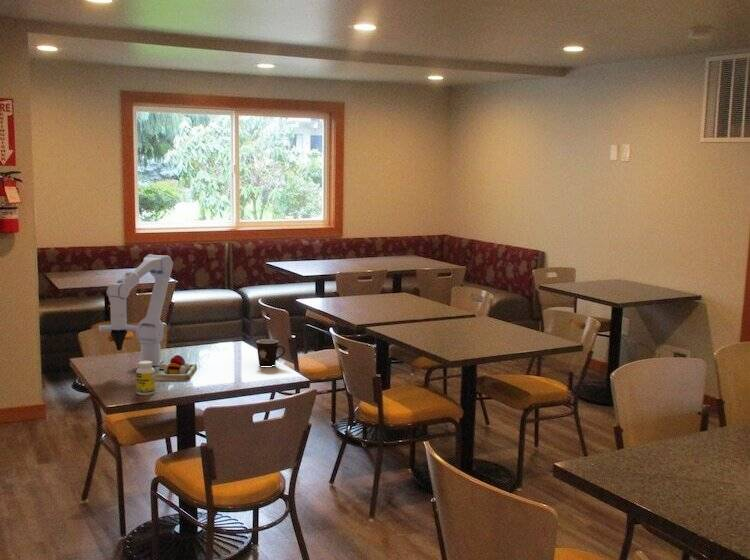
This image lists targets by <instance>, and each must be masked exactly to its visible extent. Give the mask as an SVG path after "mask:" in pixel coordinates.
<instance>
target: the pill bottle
mask: <svg viewBox="0 0 750 560" xmlns="http://www.w3.org/2000/svg"><path fill="white" fill-rule="evenodd" d="M137 366H138V368H137V369H136V372H135V374H136V375H135V379H136V381H135V382H136V384H135V385H136V390H135V391H136V394H137V395H139V396H150V395H153V394H155V392H156V380H155V374H156V371H155V368H154V367H153V366H152V361H141V360H140V361H138V365H137Z"/></svg>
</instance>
